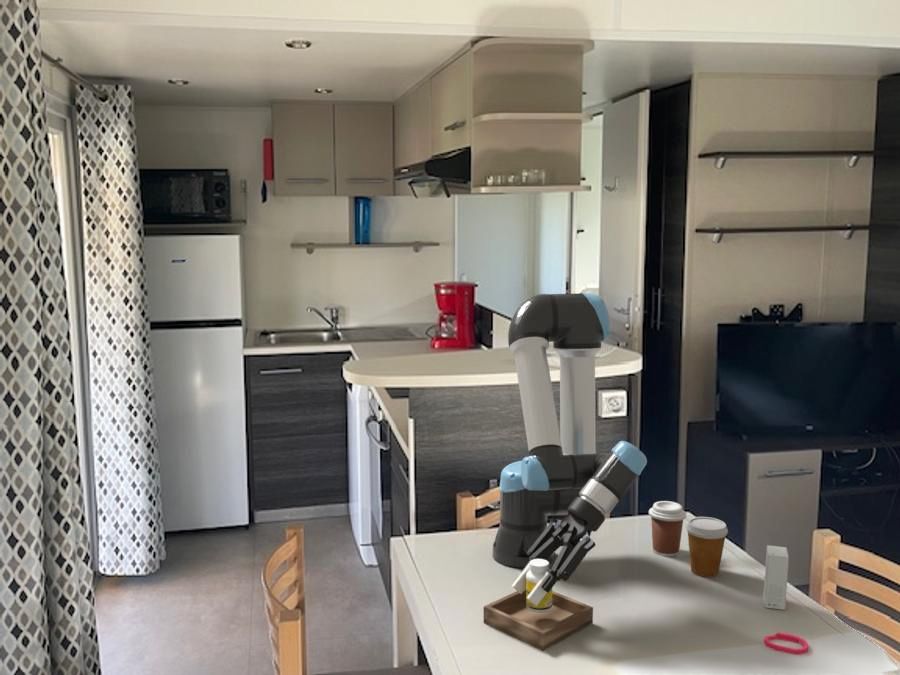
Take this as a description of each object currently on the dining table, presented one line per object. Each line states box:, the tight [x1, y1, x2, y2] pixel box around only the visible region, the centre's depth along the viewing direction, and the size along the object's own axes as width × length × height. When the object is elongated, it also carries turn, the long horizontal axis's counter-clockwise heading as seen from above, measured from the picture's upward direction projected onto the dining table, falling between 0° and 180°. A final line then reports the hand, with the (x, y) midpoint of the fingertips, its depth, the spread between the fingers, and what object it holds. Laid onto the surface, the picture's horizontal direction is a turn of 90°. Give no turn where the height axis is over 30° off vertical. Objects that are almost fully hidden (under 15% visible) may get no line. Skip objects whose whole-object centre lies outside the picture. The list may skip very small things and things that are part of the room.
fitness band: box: [763, 631, 810, 655], centre depth 169 cm, size 8×6×2 cm
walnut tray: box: [483, 589, 594, 651], centre depth 178 cm, size 16×16×4 cm
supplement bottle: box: [526, 559, 553, 613], centre depth 177 cm, size 5×5×10 cm
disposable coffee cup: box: [685, 516, 729, 578], centre depth 203 cm, size 10×10×12 cm
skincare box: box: [763, 545, 790, 611], centre depth 186 cm, size 6×4×12 cm
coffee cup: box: [648, 500, 687, 557], centre depth 215 cm, size 9×9×12 cm
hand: (524, 595), depth 175 cm, fingers closed on supplement bottle, 5 cm apart
